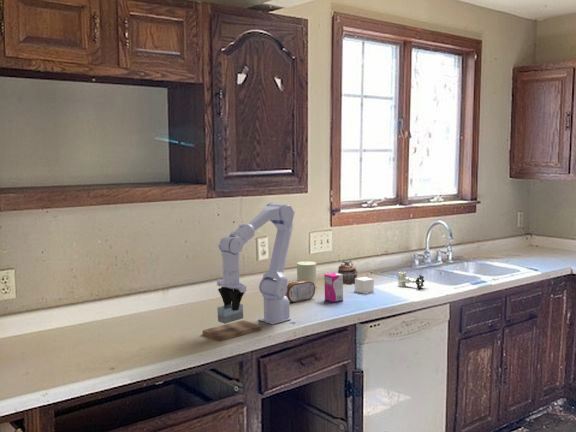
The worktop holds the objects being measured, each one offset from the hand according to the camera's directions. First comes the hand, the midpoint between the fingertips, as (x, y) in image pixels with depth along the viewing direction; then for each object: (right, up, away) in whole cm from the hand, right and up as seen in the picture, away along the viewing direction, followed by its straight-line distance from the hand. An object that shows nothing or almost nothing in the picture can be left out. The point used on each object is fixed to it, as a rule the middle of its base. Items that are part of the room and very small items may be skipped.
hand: (231, 308), depth 204 cm
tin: (+25, -4, +45) cm, 51 cm away
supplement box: (+39, -4, +44) cm, 59 cm away
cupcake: (+49, 0, +81) cm, 94 cm away
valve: (+76, -1, +68) cm, 102 cm away
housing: (0, -4, 0) cm, 4 cm away
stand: (0, -8, +1) cm, 8 cm away
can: (+28, -1, +69) cm, 75 cm away
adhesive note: (+54, -2, +60) cm, 81 cm away
